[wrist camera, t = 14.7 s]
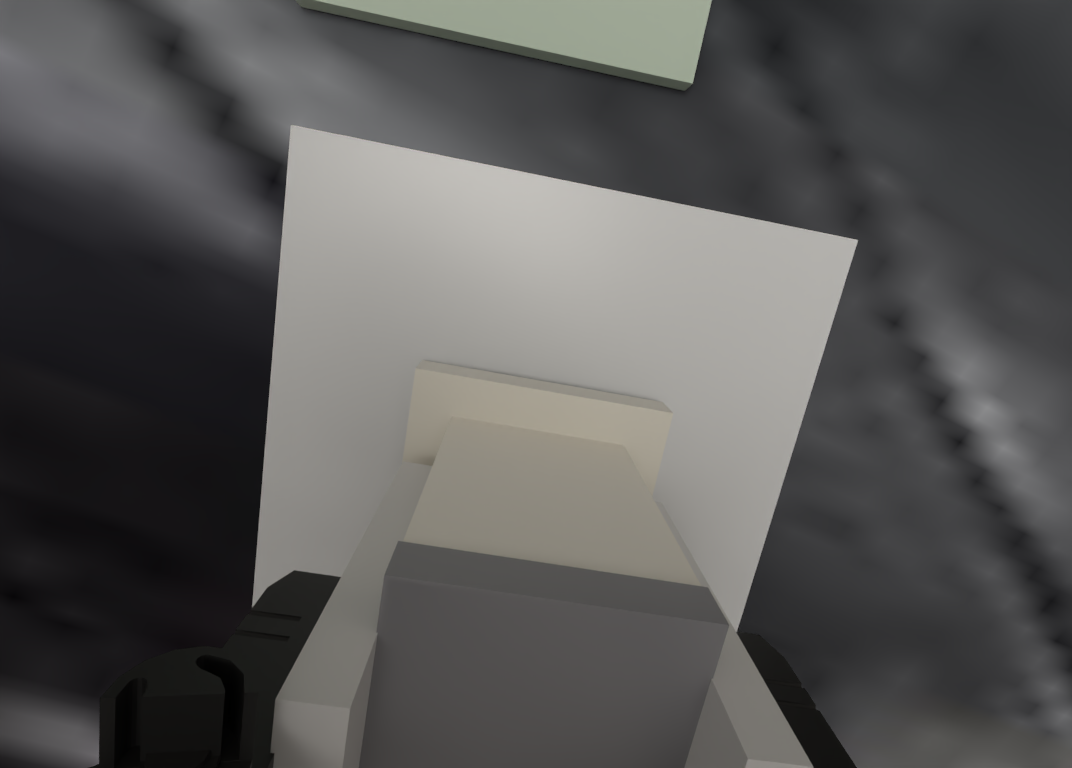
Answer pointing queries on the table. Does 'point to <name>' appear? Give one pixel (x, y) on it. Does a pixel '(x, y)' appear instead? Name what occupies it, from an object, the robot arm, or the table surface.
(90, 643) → the table surface
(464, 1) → the mat
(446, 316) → the socket
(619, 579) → the plug
